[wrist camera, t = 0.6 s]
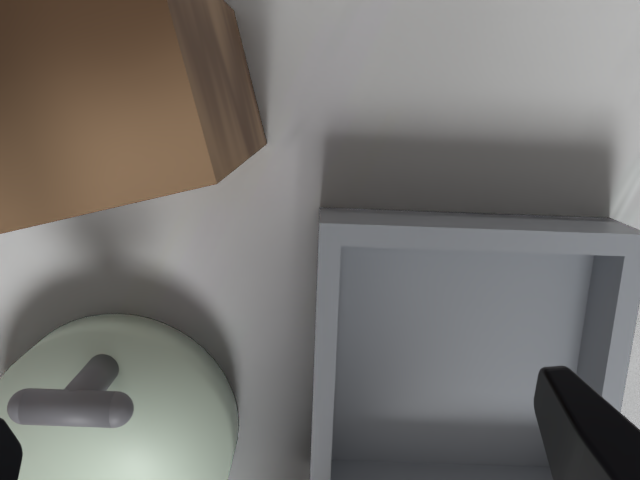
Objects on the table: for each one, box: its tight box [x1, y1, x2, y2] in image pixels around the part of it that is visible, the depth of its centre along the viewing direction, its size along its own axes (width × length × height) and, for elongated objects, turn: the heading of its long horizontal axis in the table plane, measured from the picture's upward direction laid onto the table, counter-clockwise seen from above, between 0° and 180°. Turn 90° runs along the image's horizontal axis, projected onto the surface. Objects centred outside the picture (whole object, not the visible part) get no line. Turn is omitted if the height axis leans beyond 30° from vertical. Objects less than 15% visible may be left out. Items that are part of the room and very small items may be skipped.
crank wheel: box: [0, 314, 239, 480], centre depth 23 cm, size 10×10×6 cm
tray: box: [310, 208, 640, 480], centre depth 23 cm, size 12×12×3 cm
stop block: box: [0, 0, 267, 234], centre depth 17 cm, size 5×5×11 cm
